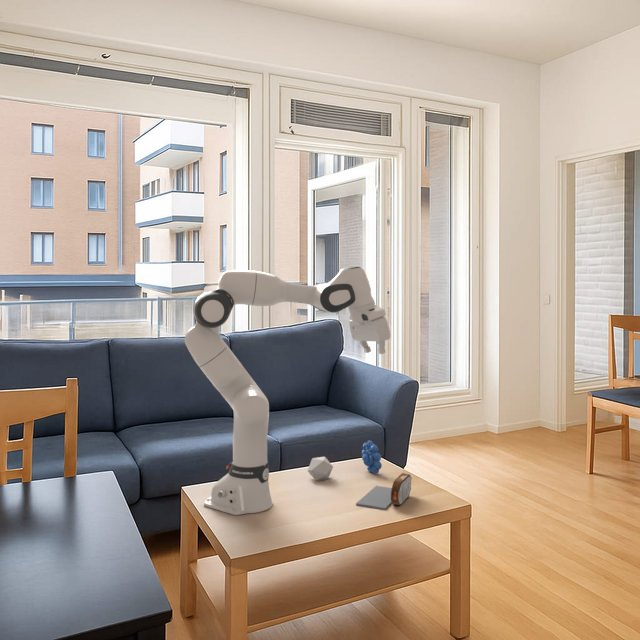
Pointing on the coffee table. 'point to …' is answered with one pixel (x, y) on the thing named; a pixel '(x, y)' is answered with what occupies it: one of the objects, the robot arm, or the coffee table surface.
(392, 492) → the tin
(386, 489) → the mat
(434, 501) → the coffee table surface
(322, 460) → the die
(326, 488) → the coffee table surface
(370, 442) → the grapes
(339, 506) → the coffee table surface
